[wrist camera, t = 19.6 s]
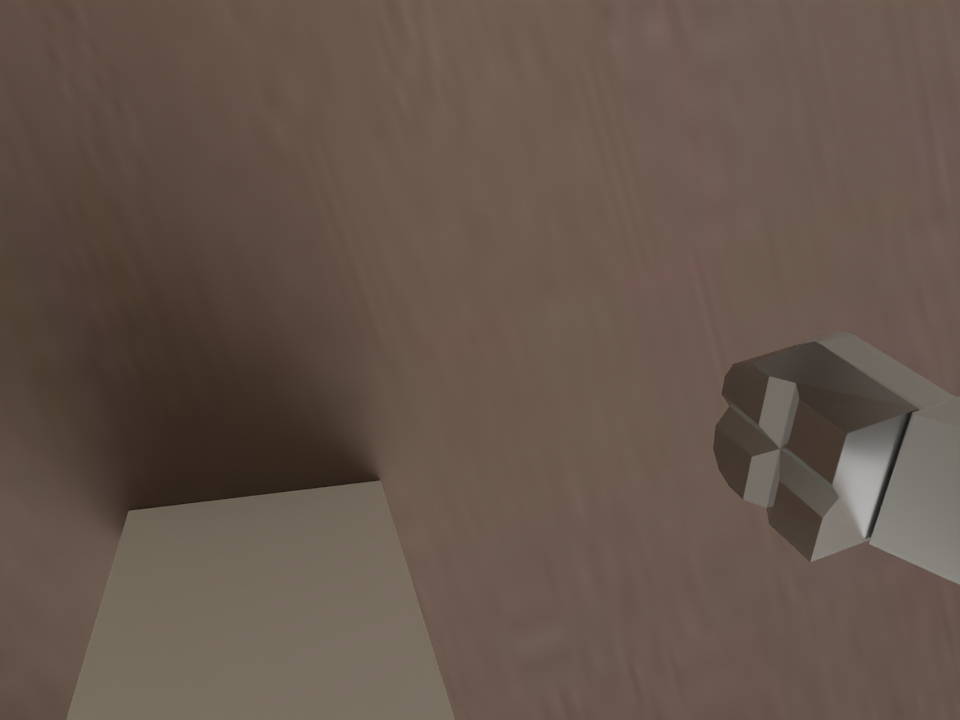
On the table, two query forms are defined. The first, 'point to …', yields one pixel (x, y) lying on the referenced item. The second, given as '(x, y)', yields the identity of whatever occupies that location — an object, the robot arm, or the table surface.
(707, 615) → the table surface
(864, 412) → the robot arm
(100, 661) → the door frame
